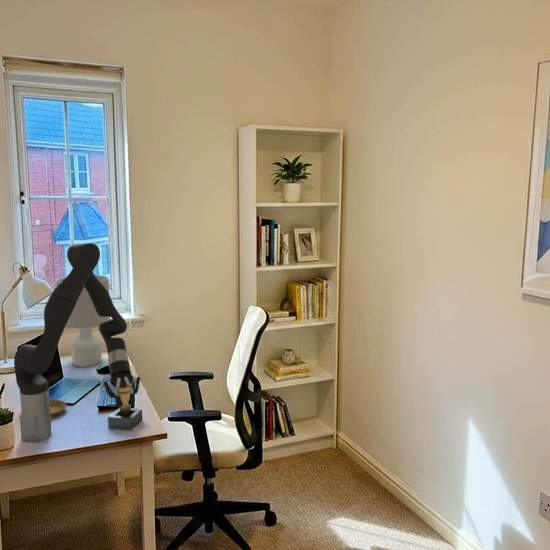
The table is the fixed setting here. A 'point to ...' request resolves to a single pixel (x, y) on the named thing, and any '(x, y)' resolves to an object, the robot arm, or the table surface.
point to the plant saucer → (56, 407)
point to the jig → (125, 420)
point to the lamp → (86, 327)
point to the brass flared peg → (125, 400)
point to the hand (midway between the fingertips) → (126, 405)
